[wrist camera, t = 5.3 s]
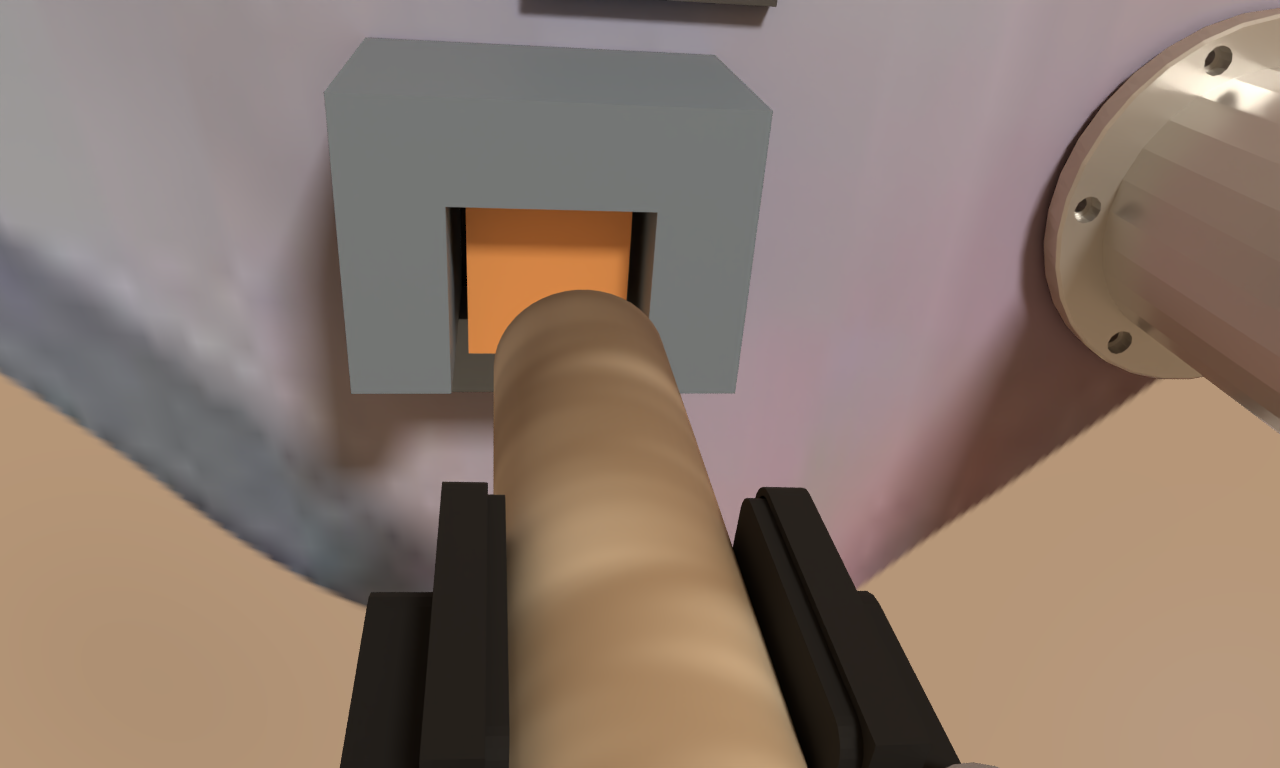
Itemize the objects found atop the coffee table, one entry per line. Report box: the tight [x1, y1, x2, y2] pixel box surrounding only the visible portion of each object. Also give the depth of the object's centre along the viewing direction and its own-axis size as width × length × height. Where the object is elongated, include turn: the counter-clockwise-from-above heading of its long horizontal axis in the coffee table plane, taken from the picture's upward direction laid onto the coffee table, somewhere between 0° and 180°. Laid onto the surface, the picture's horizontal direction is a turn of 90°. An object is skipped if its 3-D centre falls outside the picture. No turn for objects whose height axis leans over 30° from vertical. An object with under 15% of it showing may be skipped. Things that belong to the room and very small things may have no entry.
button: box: [466, 207, 632, 354], centre depth 26 cm, size 4×4×2 cm
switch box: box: [324, 38, 773, 394], centre depth 27 cm, size 10×10×7 cm
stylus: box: [494, 290, 808, 768], centre depth 10 cm, size 3×3×14 cm
